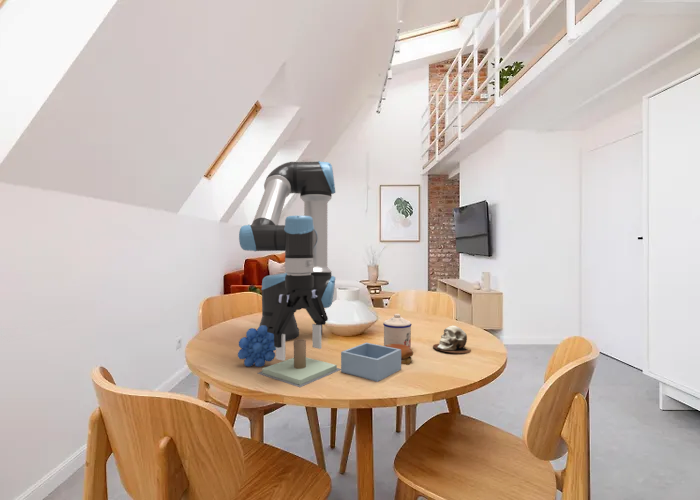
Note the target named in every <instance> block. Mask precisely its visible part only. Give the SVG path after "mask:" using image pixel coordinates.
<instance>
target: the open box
mask: <svg viewBox="0 0 700 500" xmlns="http://www.w3.org/2000/svg"><path fill="white" fill-rule="evenodd" d="M340 360H341V361H340V366H341V367H340V369H341V370H340V373H343V374H346V375H351V376H354V377H357V378H362V379H365V380H369V381H373V382H375V383H376V382H377V383H378V382H380V381H382V380H385V379H386V378H388V377H390V376H392V375H393V374H395V373H397V372H398V371H401V370H402V364H401V349H396V348H391V347H386V346H384V345H380V344H376V343H370V342H364V343H361V344H358V345H356V346H353V347H351V348H348V349H345V350H342V351H340Z"/></svg>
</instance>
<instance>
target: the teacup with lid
mask: <svg viewBox="0 0 700 500" xmlns="http://www.w3.org/2000/svg"><path fill="white" fill-rule="evenodd" d="M382 325H383V346H385V345H388V344H403V345H406V346H408V347H410V348H411V347H412V346H411V345H412V344H411V343H412V341H411V340H412V339H411V337H412V335H411V333H412V332H411V329H412V322H411V321H410V320H408V319H406V318H404V317H402V316H401V314H400V313H394V314H393V316H392V317H391V318H389V319H386V320H384V321H383V324H382ZM411 349H412V348H411Z"/></svg>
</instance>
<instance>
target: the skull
mask: <svg viewBox="0 0 700 500" xmlns="http://www.w3.org/2000/svg"><path fill="white" fill-rule="evenodd" d="M440 337H441V338H440V339H439V343H435V344H433V345H432V347H433V349H436V350H437V351H440V352H446V353H452V354H459V355H460V354H469V353H471V352H472V349H471V348H470V349H468V348H465V346H466V344H467V341H468V336H467V333H466V331H464V330H463V328H461V327H459V326H456V325H450V326H447V327H446V328H445V329H443V334H442V335H441V336H440Z"/></svg>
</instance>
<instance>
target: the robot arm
mask: <svg viewBox="0 0 700 500" xmlns="http://www.w3.org/2000/svg"><path fill="white" fill-rule="evenodd" d="M263 186H264V187H263V188H264V192H263V194H262V197H261V200H260V202H259V205H258V206H257V210H256V213H255V216H254V217H253V221H252V224H247V225H246V224H245V225H241V227H240V228H239V232H238V233H239V234H238V241H239V246H240V248H241V249H242V250H243V251H250V252H252V251H253V252H273V251H274V252H276V251H277V252H285V255H284V272H282V273H274V274H269V275H266V276H264V277H263V278H262V280H261V281H262V283H261V319H260V323H259V326H258V328H259V327H260V326H261V325H265V326H266V327H267V328H268V329H267V332H269V333H273V334H274V346H275V347H276V350H275V360H279V361H281V362H283V361H286V341H292V340H296V339H297V338H299V337H300V329H299V327H298V323H297V318H296V317H295V313H296V312H297V311H300V310H303V309H304V310H305V311H306V312H307V314H308V315H309V317H310V318H311V319H312V321H313V322H314V323H312V330H311V331H312V334H311V335H312V339H311V340H312V341H311V342H312V348H314V349H318V350H321V349H322V336H323V326H325V325H326V322H328V320H329V318H328V315H327V312H326V309H328V308H331V306H332V304H333V300H334V293H335V289H336V288H335V285H336V276H334V275H332V271H331V270H330V268H329V267H328V203H329V202H330V201H331V200H332V199H333V198H332V197H333V196H332V195H333V194H336V184H335V177H334V169H333V165H332V164H331V163H330V162H328V161H289V162H285V163H282V164H280V165H279V166H277V167H275V168H274V169H273V170H271V172H270V173H269V174H268V175H267V176H266V179H265V180H264V184H263ZM291 194H299V196H300V200H302V202H303V204H304V207H303V208H304V212H303V214H304V215H287V216H286V217H285V219H284V225H283V224H280V225H279V223H280V218H281V216H282V212H283V209H284V206H285V203H286V199H287V197H289V195H291Z"/></svg>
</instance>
